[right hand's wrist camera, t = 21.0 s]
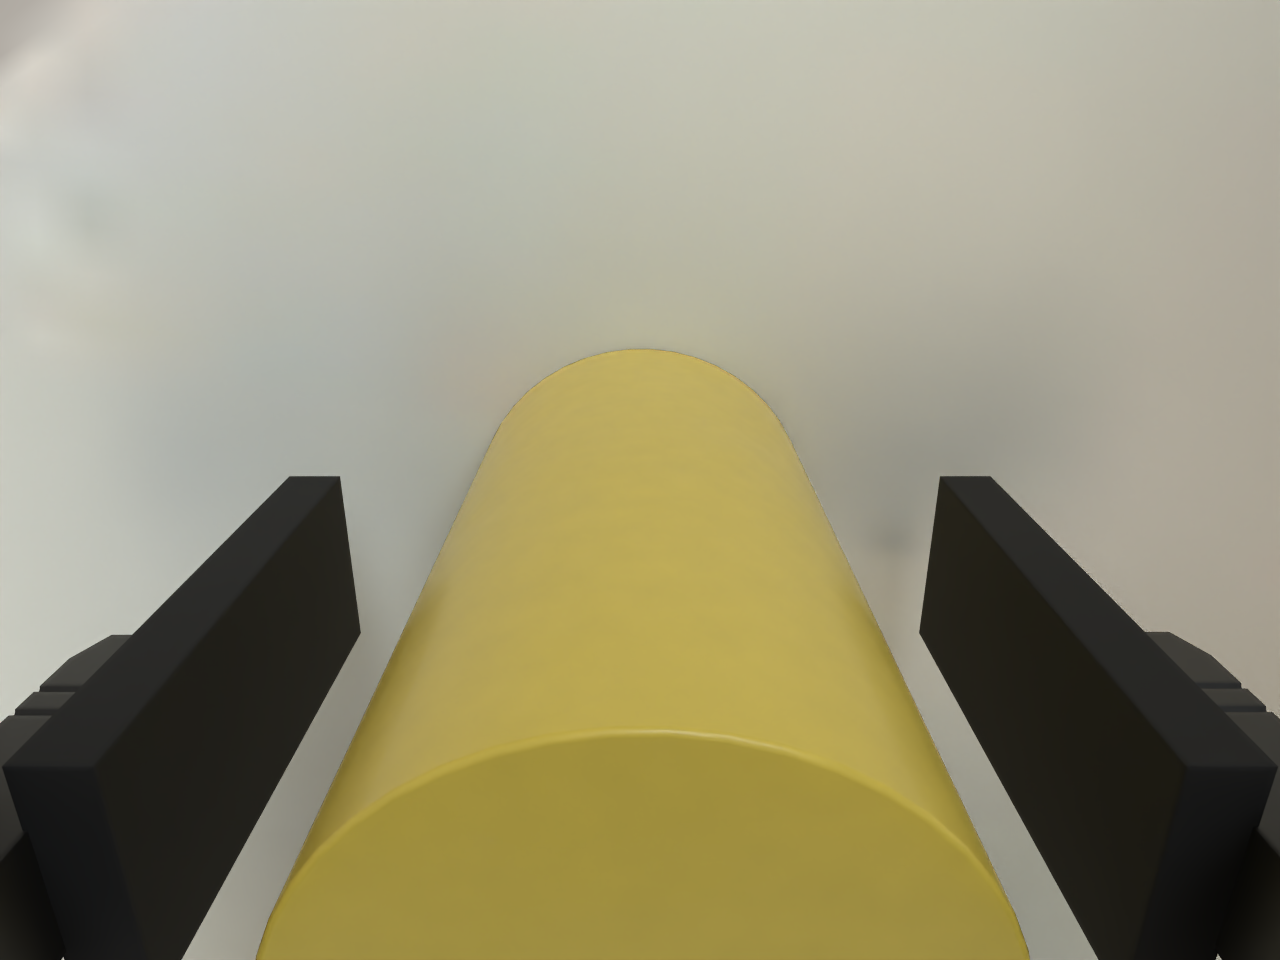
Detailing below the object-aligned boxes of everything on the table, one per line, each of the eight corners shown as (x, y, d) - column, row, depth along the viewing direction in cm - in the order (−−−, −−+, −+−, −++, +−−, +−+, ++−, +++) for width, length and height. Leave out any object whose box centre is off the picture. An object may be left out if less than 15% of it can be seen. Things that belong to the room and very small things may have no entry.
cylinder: (462, 617, 17) (238, 1243, 7) (502, 318, 15) (259, 663, 5) (759, 665, 17) (904, 1318, 8) (839, 382, 15) (1165, 805, 6)
